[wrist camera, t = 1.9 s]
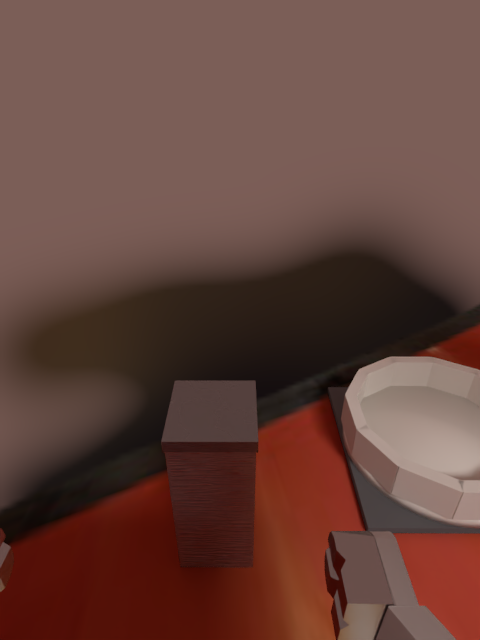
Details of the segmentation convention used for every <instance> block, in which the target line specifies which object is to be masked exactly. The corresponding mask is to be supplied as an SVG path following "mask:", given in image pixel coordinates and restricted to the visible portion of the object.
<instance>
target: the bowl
mask: <svg viewBox="0 0 480 640" xmlns="http://www.w3.org/2000/svg"><path fill="white" fill-rule="evenodd" d="M341 421H342V425H343V439H344V444H345V447H346V450H347V453H348V455H349V457H350V458H351V460H352V462H353V464H354V465H355V466H356V468H357V469H358V471H359V472H360V473H361V474H362V475H363V477H364V478H365V479H366V480H367V481H368V482H369V483H370V484H371V485H372V486H373V487H374V488H376V489H377V490H378V491H379V492H380V493H382V494H383V495H384V496H386V497H387V498H388V499H390V500H391V501H393V502H395V503H396V504H398V505H400V506H401V507H403V508H405V509H407V510H409V511H411V512H413V513H415V514H417V515H419V516H422V517H425V518H427V519H430V520H432V521H436V522H440V523H443V524H447V525H452V526H458V527H464V528H480V370H478V369H475V368H471V367H468V366H464V365H460V364H457V363H453V362H449V361H446V360H442V359H438V358H435V357H388V358H385V359H383V360H380V361H378V362H375V363H373V364H371V365H368V366H366V367H363V368H361V369H359V370H358V371H357V373H356V375H355V377H354V379H353V381H352V382H351V384H350V386H349V388H348V390H347V392H346V393H345V398H344V404H343V410H342V416H341Z"/></svg>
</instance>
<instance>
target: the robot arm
mask: <svg viewBox="0 0 480 640" xmlns="http://www.w3.org/2000/svg"><path fill="white" fill-rule="evenodd" d="M5 537H6V536H5V534H4V532H3V530H2V528H0V592H1V591H2V590H3V589H4V588H5V587H6V585H7V582H8V580H9V578H10V576H11V572H12V568H13V563H14V555H13V551H12V549H11V547H10V546H9V545H7V544H6V543H4V542H3V541H4V539H5ZM328 542H329V548H328V549H327V550H326V552H325V578H326V585H327V591H328V592H329V594H330V595H331V596H332V597H333V599H334V600H333V605H332V609H331V615H332V620H333V626H334V632H335V637H336V640H456V639H455V638H454V637H453V636H452V634H451V633H450V632H449V631H448V630H447V629H446V628H445V627H444V626H443V625H442V624H441V622H440V621H439V620H438V619H437V618H436V617H435V616H434V615H433V614H432V613H431V612H430V611H429V609H428V608H427V607H426V606H419V604H418V601H417V598H416V596H415V593H414V590H413V587H412V584H411V581H410V578H409V575H408V572H407V569H406V567H405V564H404V561H403V558H402V555H401V552H400V549H399V546H398V543H397V540H396V538H395V536H394V535H393V533H391V532H390V531H331V532H330V533H329V537H328Z"/></svg>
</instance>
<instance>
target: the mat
mask: <svg viewBox="0 0 480 640" xmlns="http://www.w3.org/2000/svg"><path fill="white" fill-rule="evenodd" d="M348 388H349V387H328V395H329V398H330V402H331V405H332V409H333V413H334V416H335V420H336V423H337V427H338V431H339V434H340V438H341V441H342V445H343V449H344V452H345V456H346V459H347V463H348V467H349V470H350V474H351V477H352V481H353V485H354V488H355V492H356V495H357V499H358V503H359V506H360V510H361V513H362V517H363V520H364V524H365V528H366V531H390V532H391V533H480V528H464V527H458V526H452V525H447V524H443V523H440V522H436V521H432V520H430V519H427V518H425V517H422V516H419V515H417V514H415V513H413V512H411V511H409V510H407V509H405V508H403V507H401V506H400V505H398V504H396V503H395V502H393V501H391V500H390V499H388V498H387V497H386V496H384V495H383V494H382V493H380V492H379V491H378V490H377V489H376V488H374V487H373V486H372V485H371V484H370V483H369V482H368V481H367V480H366V479H365V478H364V477H363V475H362V474H361V473H360V472H359V471H358V469H357V468H356V466H355V465H354V464H353V462H352V460H351V458H350V457H349V455H348V453H347V450H346V447H345V444H344V439H343V425H342V421H341V416H342V410H343V404H344V398H345V393H346V392H347V390H348Z"/></svg>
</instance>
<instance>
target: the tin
mask: <svg viewBox="0 0 480 640" xmlns="http://www.w3.org/2000/svg"><path fill="white" fill-rule="evenodd" d="M161 443H162V451H163V452H165V456H166V463H167V471H168V478H169V486H170V494H171V501H172V509H173V516H174V524H175V531H176V539H177V546H178V554H179V561H180V567H253V545H254V508H255V472H256V452H258V425H257V403H256V383H255V381H175V383H174V387H173V392H172V396H171V401H170V405H169V410H168V414H167V418H166V423H165V428H164V432H163V436H162V441H161Z"/></svg>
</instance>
